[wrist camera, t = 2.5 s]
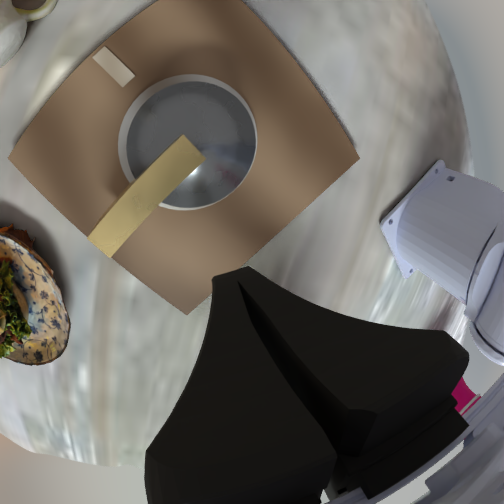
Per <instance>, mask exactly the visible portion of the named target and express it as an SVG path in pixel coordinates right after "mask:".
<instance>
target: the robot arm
mask: <svg viewBox="0 0 504 504" xmlns="http://www.w3.org/2000/svg"><path fill="white" fill-rule="evenodd" d="M389 220H390V221H389ZM380 228H381V230H382V232H383V234H384V236H385V239H386V241H387V243H388V245H389V247H390V249H391V251H392V253H393V256H394V258H395V260H396V262H397V264H398V267H399V269H400V271H401V274H402V276H403V277H404V278H405V279H407V278H408V277H410V275H411V274H412V273H413V272H414V271H415V270H416V269H417V270H419V271H420V272H422V273H423V274H424V275H426V276H427V277H429V278H430V279H431V280H433V281H434V282H435V283H437V284H438V285H440V286H441V287H442V288H444V289H445V290H446V291H448V292H449V293H450V294H452V295H453V296H454V297H455V298H457V299H458V300H459V301H461V302H462V303H463V304H464V305H466V309H465V311H464V315H465V316H467V317H468V318H469V319H470V320H471V322H470V332H471V335H472V337H473V340H474V342H475V344H476V346H477V347H478V349H479V350H480V351H481V352H482V353H483V354H484V355H485V356H486V357H487V358H489V359H490V360H491V361H493V362H495V363H497V364H499V365H502V366H504V192H503V191H502V190H500V189H499V188H498V187H496V186H495V185H493V184H491V183H488V182H486V181H483V180H480V179H478V178H475V177H472V176H469V175H466V174H464V173H461V172H458V171H455V170H452V169H448V168H446V167H445V163H444V161H443V160H438V161H437V162H436V163H435V164H434V165H433V166H432V168H431V169H430V170H429V171H428V172H427V173H426V174H425V175H424V176H423V178H422V179H421V180H420V181H419V182H418V183H417V184H416V185H415V186H414V187H413V188H412V190H411V191H410V192H409V193H408V194H407V195H406V196H405V197H404V198H403V199H402V200H401V201H400V202H399V203H398V204H397V205H396V206H395V208H394V209H393V210H392V211H391V212H390V213H389V214H388V215H387V216H386V217H385V218H384V219H383V220H382V221H381V223H380ZM211 281H212V302H211V308H210V315H209V320H208V324H207V328H206V333H205V337H204V340H203V344H202V347H201V350H200V353H199V355H198V358H197V361H196V364H195V366H194V368H193V371H192V373H191V376H190V378H189V380H188V382H187V384H186V387H185V389H184V390H183V392H182V394H181V396H180V398H179V400H178V402H177V403H176V405H175V407H174V409H173V411H172V413H171V414H170V416H169V418H168V419H167V421H166V422H165V424H164V425H163V427H162V428H161V430H160V431H159V433H158V434H157V435H156V437H155V438H154V440H153V441H152V443H151V444H150V446H149V447H148V448H147V450H146V455H145V477H144V480H145V489H146V495H147V501H148V504H320V503H321V500H320V497H321V494H322V491H323V489H324V490H325V492H326V495H327V497H328V498H329V500H330V502H328V503H325V504H376V503H377V502H379V501H381V500H383V499H384V498H386V497H388V496H389V495H391V494H392V493H394V492H396V491H397V490H399V489H400V488H402V487H404V486H405V485H407V484H408V483H410V482H411V481H412V480H414V479H415V478H417V477H418V476H420V475H421V474H422V473H424V472H425V471H427V470H428V469H429V468H430V467H432V466H433V465H434V464H436V463H437V462H438V461H439V460H441V459H442V458H443V457H444V456H445V455H447V454H448V453H449V452H450V451H451V450H453V449H454V448H455V447H456V446H457V445H458V444H459V443H460V442H461V441H463V440H464V443H463V444H464V447H463V450H462V451H461V452H460V453H458V454H457V455H456V456H455V457H454V458H453V459H451V460H450V461H449V462H448V463H447V464H445V465H444V466H443V467H442V468H441V469H439V470H438V471H437V472H436V473H434V474H433V475H432V476H430V477H429V478H428V479H427V480H425V484H426V485H427V487H428V488H429V490H430V491H428V492H427V493H426V494H424V495H423V496H421V497H420V498H418V499H417V500H415V501H414V502H412V503H411V504H504V373H503V374H502V375H501V377H500V378H499V379H498V380H497V381H496V382H495V383H494V384H493V385H492V387H491V388H490V389H489V390H488V391H487V392H486V393H485V394H484V395H483V396H482V397H481V398H480V399H479V400H478V401H477V402H476V403H475V404H474V405H473V406H472V407H471V408H470V409H469V410H468V411H467V412H466V413H465V414H463V415H462V416H461V415H460V413H459V412H458V411H457V410H456V409H455V407H456V406H457V404H458V402H457V400H456V399H455V398H454V397H453V396H452V392H453V390H454V389H455V387H456V386H457V384H458V382H459V381H460V379H461V377H462V376H463V374H464V372H465V370H466V368H467V366H468V362H469V353H468V352H467V351H466V350H465V349H464V348H463V347H462V346H461V345H460V344H459V343H458V342H457V341H456V340H455V339H453V338H452V337H451V336H450V335H449V334H448V333H447V332H445V331H444V330H425V329H410V328H402V327H395V326H389V325H383V324H378V323H373V322H368V321H365V320H361V319H357V318H353V317H349V316H346V315H343V314H340V313H337V312H334V311H331V310H329V309H326V308H323V307H321V306H318V305H316V304H313V303H311V302H309V301H307V300H305V299H303V298H301V297H298V296H297V295H295V294H293V293H291V292H289V291H287V290H286V289H284V288H282V287H280V286H279V285H277V284H275V283H274V282H272V281H271V280H269V279H267V278H266V277H264V276H263V275H261V274H260V273H258V272H257V271H255V270H254V269H253V268H251V267H249V266H247V267H244V268H240V269H237V270H234V271H230V272H227V273H223V274H220V275H217V276H214V277H213V278H212V280H211Z"/></svg>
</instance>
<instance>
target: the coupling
mask: <svg viewBox="0 0 504 504" xmlns="http://www.w3.org/2000/svg"><path fill="white" fill-rule="evenodd" d="M255 149H256V135H255V129H254V125H253V122H252V119H251V117H250V115H249V113H248V111H247V109H246V108H245V106H244V105H243V104H242V102H241V101H240V100H239V99H238V98H237V97H236V96H234V95H233V94H232V93H230V92H229V91H227V90H225V89H224V88H222V87H219V86H217V85H214V84H211V83H207V82H199V81H188V82H181V83H177V84H174V85H170V86H168V87H166V88H164V89H162V90H160V91H158V92H157V93H155V94H154V95H153V96H151V97H150V98H149V99H148V100H147V101H146V102H145V103H144V104H143V105H142V106H141V107H140V109H139V110H138V111H137V113H136V115H135V116H134V118H133V120H132V122H131V125H130V128H129V131H128V135H127V143H126V153H127V159H128V164H129V167H130V170H131V172H132V174H133V176H134V180H133V181H132V182H131V183H130V184H129V185H128V186H127V187H126V188H125V189H124V190H123V192H122V193H121V194H120V195H119V196H118V197H117V198H116V199H115V201H114V202H113V203H112V204H111V205H110V206H109V208H108V209H107V210H106V211H105V212H104V214H103V215H102V216H101V217H100V219H99V220H98V222H97V223H96V225H95V226H94V228H93V230H92V231H91V233H90V234H89V236H88V238H87V239H88V240H89V241H90V242H92V243H93V244H94V245H95V246H96V247H97V248H99V249H100V250H101V251H102V252H103V253H104V254H106V255H107V256H108V257H109V258H111V257H112V255H113V254H114V253H115V252H116V251H117V250H118V249H119V247H120V246H121V245H122V244H123V243H124V242H125V241H126V239H127V238H128V237H129V236H130V235H131V234H132V233H133V232H134V231H135V230H136V228H137V227H138V226H139V225H140V224H141V223H142V222H143V221H144V220H145V219H146V218H147V217H148V216H149V215H150V213H151V212H152V211H153V210H154V209H155V208H156V207H157V206H158V205H159V204H160V203H161V202H162V203H164V204H167V205H171V206H175V207H180V208H195V207H201V206H206V205H209V204H212V203H214V202H217V201H219V200H221V199H222V198H224V197H226V196H227V195H229V194H230V193H231V192H232V191H234V190H235V189H236V188H237V187H238V186H239V184H240V183H241V182H242V181H243V179H244V178H245V176H246V175H247V173H248V171H249V169H250V167H251V165H252V162H253V159H254V155H255Z"/></svg>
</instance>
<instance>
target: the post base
mask: <svg viewBox="0 0 504 504" xmlns="http://www.w3.org/2000/svg"><path fill="white" fill-rule="evenodd" d="M188 81H199V82H207V83H211V84H214V85H217V86H219V87H222V88H224V89H225V90H227V91H229V92H230V93H232V94H233V95H234V96H236V97H237V98H238V99H239V100H240V101H241V102H242V104H243V105H244V106H245V108H246V109H247V111H248V113H249V115H250V117H251V119H252V122H253V125H254V129H255V135H256V149H255V155H254V159H253V162H252V165H251V167H250V169H249V171H248V173H247V175H246V176H245V178H244V179H243V181H242V182H241V183H240V184H239V186H238V187H237V188H236V189H235V190H234V191H232V192H231V193H230V194H229V195H227V196H226V197H224V198H222V199H221V200H219V201H217V202H214V203H212V204H209V205H206V206H201V207H195V208H180V207H175V206H171V205H167V204H164V203H162V202H161V203H160V204H159V205H158V206H157V207H156V208H155V209H154V210H153V211H152V212H151V213H150V215H149V216H148V217H147V218H146V219H145V220H144V221H143V222H142V223H141V224H140V225H139V226H138V227H137V228H136V230H135V231H134V232H133V233H132V234H131V235H130V236H129V237H128V238H127V239H126V241H125V242H124V243H123V244H122V245H121V246H120V247H119V249H118V250H117V251H116V252H115V253H114V254H113V255H112V257H111V258H113V259H114V260H115V261H116V262H117V263H119V264H120V265H121V266H122V267H124V268H125V269H126V270H127V271H129V272H130V273H131V274H132V275H134V276H135V277H136V278H137V279H139V280H140V281H141V282H143V283H144V284H145V285H146V286H148V287H149V288H150V289H152V290H153V291H154V292H156V293H157V294H158V295H160V296H161V297H162V298H164V299H165V300H166V301H168V302H169V303H170V304H172V305H173V306H175V307H176V308H177V309H179V310H180V311H182V312H183V313H184V314H186V315H188V314H189V313H190V312H191V311H192V310H193V309H195V308H196V307H197V306H198V305H199V304H200V303H201V302H202V301H203V300H205V299H206V298H207V297H208V296H209V295H210V294H211V293H212V281H211V280H212V278H213V277H214V276H217V275H220V274H223V273H227V272H230V271H234V270H237V269H239V268H240V267H241V266H242V265H243V264H244V263H246V262H247V261H248V260H249V259H250V258H251V257H252V256H253V255H254V254H255V253H257V252H258V251H259V250H260V249H261V248H262V247H263V246H264V245H265V244H267V243H268V242H269V241H270V240H271V239H272V238H273V237H274V236H275V235H276V234H278V233H279V232H280V231H281V230H282V229H283V228H284V227H285V226H286V225H287V224H289V223H290V222H291V221H292V220H293V219H294V218H295V217H296V216H297V215H298V214H300V213H301V212H302V211H303V210H304V209H305V208H306V207H307V206H308V205H309V204H311V203H312V202H313V201H314V200H315V199H316V198H317V197H318V196H319V195H320V194H322V193H323V192H324V191H325V190H326V189H327V188H328V187H329V186H330V185H331V184H332V183H334V182H335V181H336V180H337V179H338V178H339V177H340V176H341V175H342V174H343V173H345V172H346V171H347V170H348V169H349V168H350V167H351V166H352V165H353V164H354V163H356V162H357V161H358V160H359V159H360V157H359V156H358V154H357V152H356V150H355V149H354V147H353V145H352V143H351V142H350V140H349V138H348V137H347V135H346V133H345V132H344V130H343V129H342V127H341V125H340V124H339V122H338V121H337V119H336V118H335V116H334V114H333V113H332V111H331V110H330V108H329V107H328V105H327V104H326V102H325V101H324V99H323V98H322V97H321V95H320V94H319V92H318V91H317V89H316V88H315V87H314V85H313V84H312V82H311V81H310V80H309V78H308V77H307V76H306V74H305V73H304V72H303V70H302V69H301V68H300V66H299V65H298V64H297V63H296V61H295V60H294V59H293V57H292V56H291V55H290V54H289V52H288V51H287V50H286V49H285V48H284V46H283V45H282V44H281V43H280V42H279V40H278V39H277V38H276V37H275V36H274V35H273V33H272V32H271V31H270V30H269V29H268V28H267V27H266V26H265V24H264V23H263V22H262V21H261V20H260V19H259V18H258V17H257V16H256V15H255V14H254V13H253V12H252V11H251V9H250V8H249V7H248V6H247V5H246V4H245V3H244V2H243V1H242V0H158V1H157V2H155V3H154V4H152V5H151V6H149V7H148V8H146V9H145V10H143V11H142V12H141V13H139V14H138V15H137V16H135V17H134V18H133V19H131V20H130V21H129V22H127V23H126V24H125V25H124V26H122V27H121V28H120V29H119V30H117V31H116V32H115V33H114V34H113V35H111V36H110V37H109V38H108V39H107V40H106V41H104V42H103V43H102V44H101V45H100V46H99V47H98V48H97V49H96V50H95V51H94V52H92V53H91V54H90V55H89V56H88V57H87V58H86V59H85V60H84V61H83V62H82V63H81V64H80V65H79V66H78V67H77V68H76V69H75V70H74V71H73V72H72V74H71V75H70V76H69V77H68V78H67V79H66V80H65V81H64V82H63V83H62V84H61V86H60V87H59V88H58V89H57V90H56V91H55V93H54V94H53V95H52V96H51V97H50V99H49V100H48V101H47V102H46V104H45V105H44V106H43V107H42V109H41V110H40V111H39V113H38V114H37V115H36V117H35V118H34V119H33V121H32V122H31V123H30V125H29V126H28V128H27V129H26V130H25V132H24V133H23V135H22V136H21V138H20V139H19V141H18V142H17V144H16V146H15V147H14V149H13V150H12V152H11V154H10V155H9V157H8V159H9V160H10V161H11V162H12V163H13V164H14V166H15V167H16V168H17V169H18V170H19V171H20V172H21V173H22V174H23V175H24V176H25V177H26V178H27V180H28V181H29V182H30V183H31V184H32V185H33V186H34V187H35V188H36V189H37V190H38V191H39V192H40V193H41V194H42V195H43V196H44V197H45V198H46V199H47V200H48V201H49V202H50V203H51V204H52V205H53V206H54V207H55V208H56V209H57V210H59V211H60V212H61V213H62V214H63V215H64V216H65V217H66V218H67V219H68V220H69V221H70V222H71V223H72V224H74V225H75V226H76V227H77V228H78V229H79V230H80V231H81V232H82V233H83V234H85V235H86V236H87V237H88V236H89V234H90V233H91V231H92V230H93V228H94V226H95V225H96V223H97V222H98V220H99V219H100V217H101V216H102V215H103V214H104V212H105V211H106V210H107V209H108V208H109V206H110V205H111V204H112V203H113V202H114V201H115V199H116V198H117V197H118V196H119V195H120V194H121V193H122V192H123V190H124V189H125V188H126V187H127V186H128V185H129V184H130V183H131V182H132V181H133V180H134V176H133V174H132V172H131V170H130V167H129V164H128V159H127V153H126V143H127V135H128V131H129V128H130V125H131V122H132V120H133V118H134V116H135V115H136V113H137V111H138V110H139V109H140V107H141V106H142V105H143V104H144V103H145V102H146V101H147V100H148V99H149V98H150V97H151V96H153V95H154V94H155V93H157V92H158V91H160V90H162V89H164V88H166V87H168V86H170V85H174V84H177V83H181V82H188Z"/></svg>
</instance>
